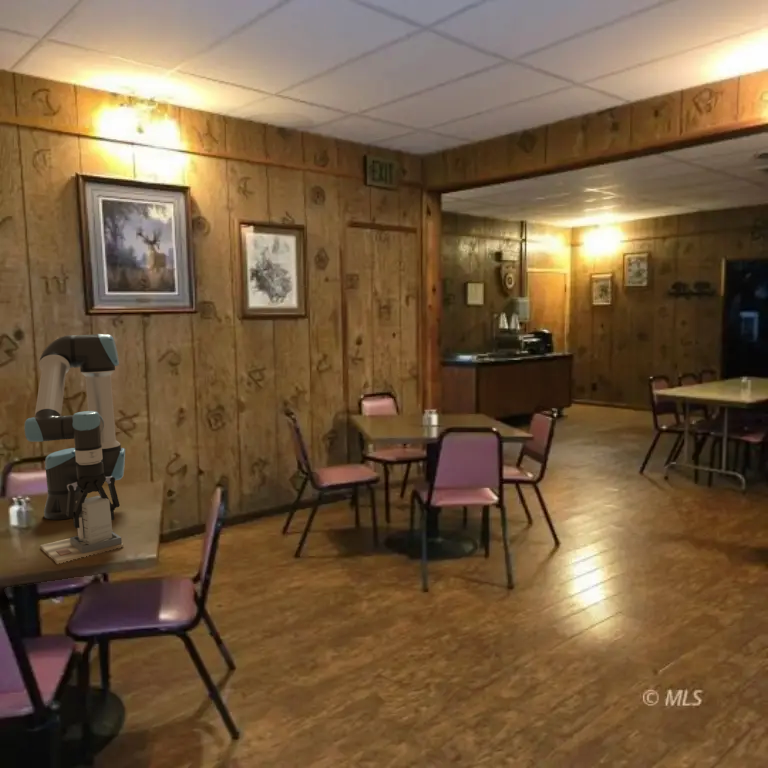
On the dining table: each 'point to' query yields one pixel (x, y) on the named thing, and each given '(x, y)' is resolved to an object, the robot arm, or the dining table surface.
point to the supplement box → (96, 520)
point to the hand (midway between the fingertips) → (95, 533)
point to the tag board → (69, 550)
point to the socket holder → (95, 546)
